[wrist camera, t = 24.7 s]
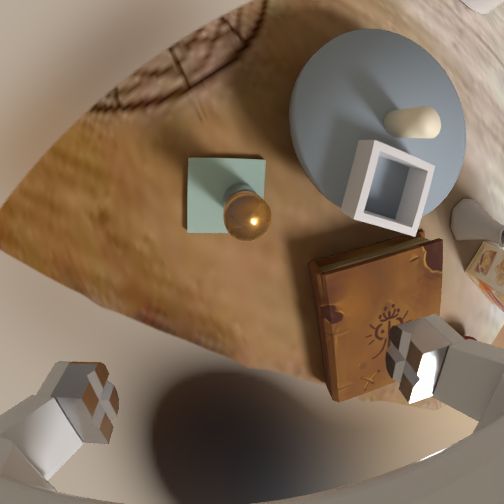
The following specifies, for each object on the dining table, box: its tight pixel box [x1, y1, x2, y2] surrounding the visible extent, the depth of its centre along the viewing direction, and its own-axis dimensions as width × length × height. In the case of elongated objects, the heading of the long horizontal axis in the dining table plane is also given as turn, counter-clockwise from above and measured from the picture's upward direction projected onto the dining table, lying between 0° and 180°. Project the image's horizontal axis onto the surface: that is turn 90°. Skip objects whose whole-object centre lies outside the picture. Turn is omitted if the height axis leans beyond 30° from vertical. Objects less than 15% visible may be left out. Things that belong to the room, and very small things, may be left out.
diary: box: [308, 230, 443, 402], centre depth 43 cm, size 23×19×6 cm
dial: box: [289, 29, 466, 237], centre depth 27 cm, size 22×22×9 cm
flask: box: [451, 199, 504, 247], centre depth 37 cm, size 7×7×10 cm
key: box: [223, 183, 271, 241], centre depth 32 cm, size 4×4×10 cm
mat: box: [187, 158, 266, 233], centre depth 37 cm, size 9×9×1 cm
